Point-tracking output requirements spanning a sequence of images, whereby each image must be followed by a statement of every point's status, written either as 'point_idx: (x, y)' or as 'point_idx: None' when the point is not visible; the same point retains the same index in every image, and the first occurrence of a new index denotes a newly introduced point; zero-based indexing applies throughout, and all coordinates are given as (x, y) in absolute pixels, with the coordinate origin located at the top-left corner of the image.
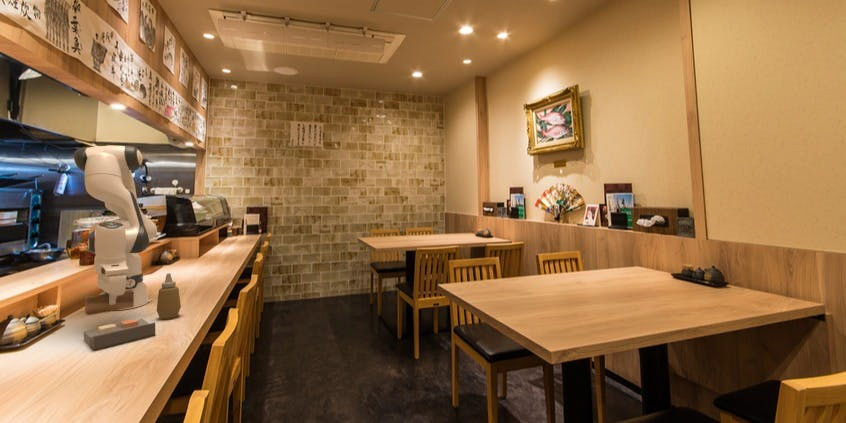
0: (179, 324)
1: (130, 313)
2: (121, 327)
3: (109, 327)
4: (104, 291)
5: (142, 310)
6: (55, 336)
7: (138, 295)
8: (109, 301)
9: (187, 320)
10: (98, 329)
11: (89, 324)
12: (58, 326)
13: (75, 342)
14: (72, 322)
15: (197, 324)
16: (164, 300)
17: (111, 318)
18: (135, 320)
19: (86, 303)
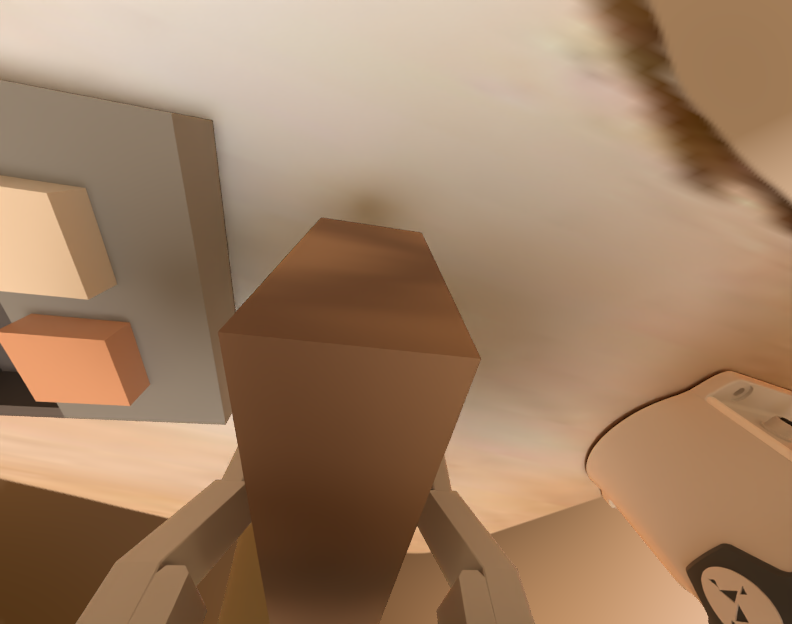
0: (147, 466)
1: (531, 422)
2: (81, 313)
3: None
4: (479, 598)
5: (523, 454)
6: (511, 32)
7: (635, 518)
8: (230, 464)
9: (191, 492)
10: (52, 187)
11: (554, 272)
12: (723, 155)
13: (193, 55)
14: (700, 236)
15: (88, 494)
16: (237, 580)
17: (542, 362)
18: (75, 397)
19: (353, 275)
